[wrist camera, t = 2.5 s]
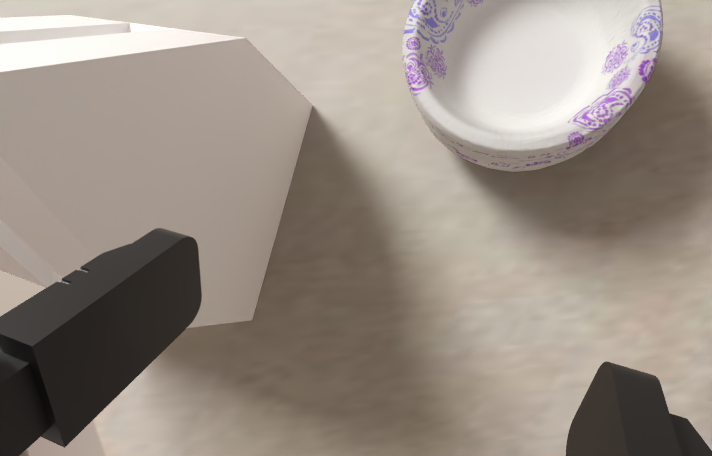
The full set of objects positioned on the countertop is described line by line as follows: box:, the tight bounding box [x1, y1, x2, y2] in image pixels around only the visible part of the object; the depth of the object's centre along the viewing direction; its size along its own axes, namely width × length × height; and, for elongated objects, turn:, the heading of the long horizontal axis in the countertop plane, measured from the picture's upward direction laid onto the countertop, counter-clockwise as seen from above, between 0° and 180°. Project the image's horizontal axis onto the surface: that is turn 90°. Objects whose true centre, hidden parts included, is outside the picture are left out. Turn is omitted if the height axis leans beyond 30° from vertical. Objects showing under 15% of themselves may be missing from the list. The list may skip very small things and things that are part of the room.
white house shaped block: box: [0, 15, 313, 328], centre depth 31 cm, size 19×15×25 cm
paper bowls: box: [402, 0, 663, 172], centre depth 32 cm, size 15×15×8 cm
